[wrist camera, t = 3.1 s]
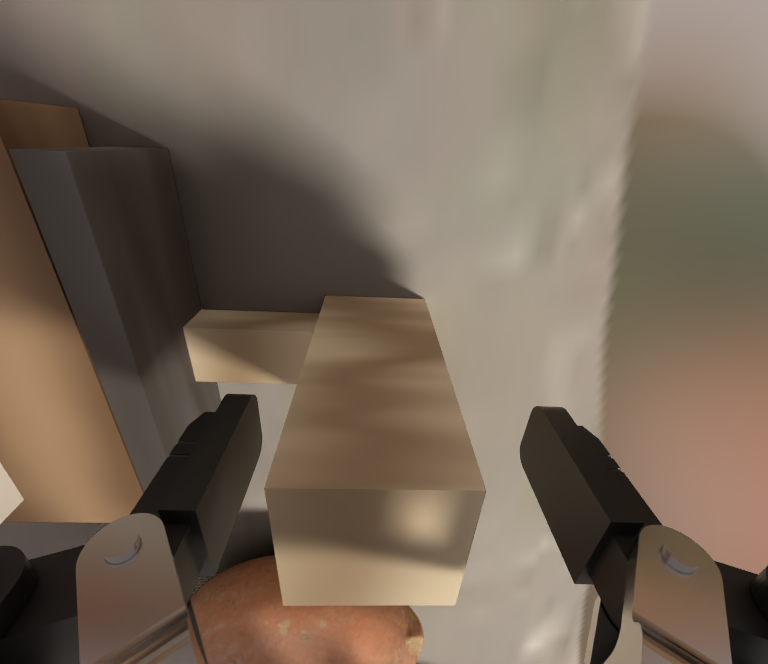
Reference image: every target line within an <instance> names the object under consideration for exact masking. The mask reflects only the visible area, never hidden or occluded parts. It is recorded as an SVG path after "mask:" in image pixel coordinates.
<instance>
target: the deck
mask: <svg viewBox="0 0 768 664" xmlns="http://www.w3.org/2000/svg"><path fill="white" fill-rule="evenodd" d="M72 147H89V144H88V141H87V138H86V134H85V131H84V128H83V124H82V121H81V118H80V114H79V111H78V108H74V107H65V106H56V105H47V104H38V103H29V102H21V101H12V100H3V99H0V463H1V464H2V466H3V467H4V469H5V471H6V472H7V474H8V475H9V477H10V478H11V480H12V481H13V483H14V485H15V486H16V488H17V489H18V491H19V492H20V494H21V496H22V497H23V499H24V500H23V501H22V502H21V503H20V504H19V505H18V506H17V508H16V509H15V510H14V511H13V512H12V513H11V514H10V515H9V516H8V517H7V518H6V519H5V520H4V521H3V522H80V523H111V522H113V521H115V520H117V519H119V518H122V517H124V516H127V515H129V514H130V513H131V511H132V510H133V509H134V507H135V506H136V504H137V503H138V501H139V499H140V498H141V496H142V495H143V493H144V490H143V487H142V485H141V482H140V480H139V477H138V475H137V472H136V470H135V467H134V465H133V462H132V460H131V457H130V454H129V452H128V449H127V447H126V444H125V442H124V439H123V437H122V434H121V432H120V429H119V427H118V424H117V422H116V419H115V417H114V414H113V412H112V409H111V406H110V404H109V401H108V399H107V396H106V394H105V391H104V389H103V386H102V384H101V381H100V379H99V376H98V374H97V371H96V369H95V366H94V364H93V361H92V359H91V356H90V353H89V351H88V348H87V346H86V343H85V341H84V338H83V336H82V333H81V331H80V328H79V326H78V323H77V321H76V318H75V316H74V313H73V311H72V308H71V305H70V303H69V300H68V298H67V295H66V293H65V290H64V288H63V285H62V283H61V280H60V278H59V275H58V273H57V270H56V268H55V265H54V263H53V260H52V258H51V255H50V252H49V250H48V247H47V245H46V242H45V240H44V237H43V235H42V232H41V230H40V227H39V225H38V222H37V220H36V217H35V215H34V212H33V210H32V207H31V204H30V202H29V199H28V197H27V194H26V192H25V189H24V187H23V184H22V182H21V179H20V177H19V174H18V172H17V169H16V167H15V164H14V162H13V159H12V157H11V154H10V151H9V149H24V148H72Z"/></svg>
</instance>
